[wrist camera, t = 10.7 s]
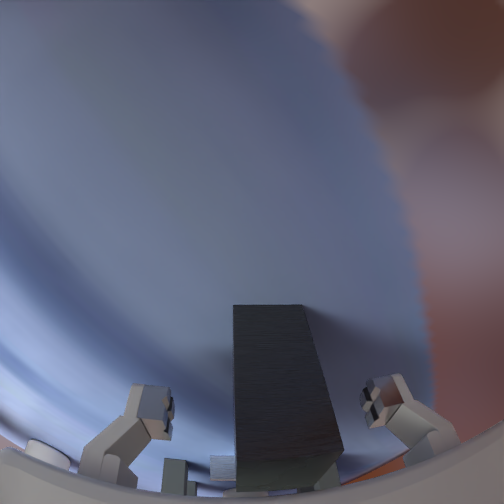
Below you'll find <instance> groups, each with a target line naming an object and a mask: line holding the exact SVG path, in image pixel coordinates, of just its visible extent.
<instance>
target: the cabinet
mask: <svg viewBox="0 0 504 504" xmlns="http://www.w3.org/2000/svg"><path fill="white" fill-rule="evenodd" d="M338 486H341V483H340V479H339V475H338V470H337V466H336V462H334V464H333V465H332V466H331V467H330V468H329V469H328V471H327V472H326V473H325V474H324V475H323V476H322V477H321V479H320V480H319V481H318V482H317V483H316V484H315V485H314V486H310V487H303V488H297V493H304V492H311V491H317V490H323V489H328V488H333V487H338ZM161 493H168V494H176V495H187V496H197V484H196V482H194V481H188V465H187V463H186V461H185V460H176V459H166V458H164V468H163V478H162V489H161Z"/></svg>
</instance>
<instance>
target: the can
mask: <svg viewBox="0 0 504 504" xmlns="http://www.w3.org/2000/svg"><path fill="white" fill-rule="evenodd" d="M24 453H26V454H28V455H30V456H32V457H35V458H37V459H39V460H42V461H44V462H47V463H49V464H52V465H54V466H57V467H60V468H62V469H65V470H68V471H69V468H70V461H69V458H68V457H67V456H66V455H64V454H63V453H62V452H60V451H59V450H57V449H55V448H53V447H52V446H50V445H48V444H46V443H44V442H41V441H39V440H36V439H31V440H29V441H28V443H27V446H26V449H25V452H24Z"/></svg>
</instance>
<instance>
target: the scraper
mask: <svg viewBox="0 0 504 504" xmlns="http://www.w3.org/2000/svg"><path fill="white" fill-rule="evenodd" d="M233 406H234V445H235V456H210V480H212V481H236V492H260V491H275V490H286V489H295V488H303V487H310V486H314V485H315V484H316V483H317V482H318V481H319V480H320V479H321V477H322V476H323V475H324V474H325V473H326V472H327V471H328V469H329V468H330V467H331V466H332V465H333V464H334V462H335V461H336V460H337V459H338V458H339V456H340V455H341V454H342V453H343V451H344V447H343V444H342V440H341V436H340V432H339V429H338V425H337V421H336V418H335V414H334V411H333V407H332V404H331V400H330V396H329V393H328V390H327V386H326V383H325V379H324V376H323V372H322V369H321V366H320V362H319V359H318V356H317V352H316V349H315V346H314V342H313V339H312V336H311V333H310V329H309V326H308V323H307V320H306V316H305V313H304V310H303V307H302V305H233Z"/></svg>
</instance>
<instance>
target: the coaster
mask: <svg viewBox="0 0 504 504" xmlns="http://www.w3.org/2000/svg"><path fill="white" fill-rule="evenodd" d="M263 496H269V493H268V491H260V492H236V488H233V489H228V490H225V491H223V497H263Z"/></svg>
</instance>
